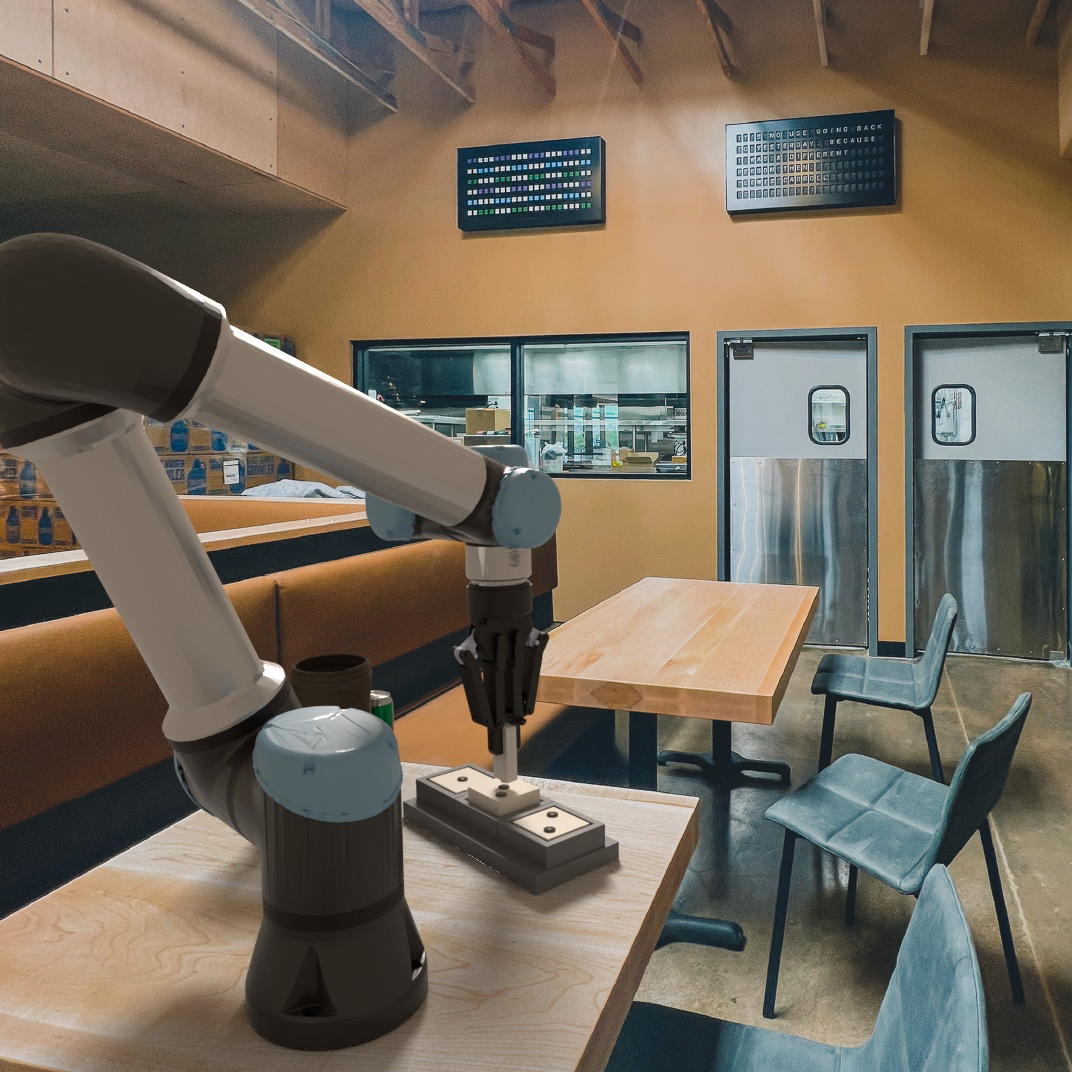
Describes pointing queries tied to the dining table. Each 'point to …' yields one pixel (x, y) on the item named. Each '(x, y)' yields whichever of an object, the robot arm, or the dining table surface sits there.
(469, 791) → the tile three dots
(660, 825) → the dining table surface
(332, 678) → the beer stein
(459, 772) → the tile one dot
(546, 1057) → the dining table surface
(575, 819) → the tile two dots
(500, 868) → the button panel
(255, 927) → the dining table surface
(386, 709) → the soda can
